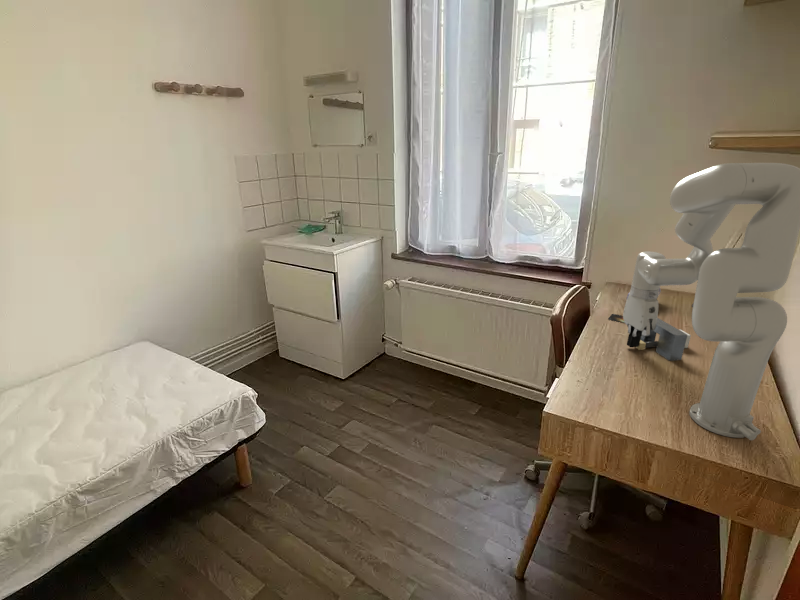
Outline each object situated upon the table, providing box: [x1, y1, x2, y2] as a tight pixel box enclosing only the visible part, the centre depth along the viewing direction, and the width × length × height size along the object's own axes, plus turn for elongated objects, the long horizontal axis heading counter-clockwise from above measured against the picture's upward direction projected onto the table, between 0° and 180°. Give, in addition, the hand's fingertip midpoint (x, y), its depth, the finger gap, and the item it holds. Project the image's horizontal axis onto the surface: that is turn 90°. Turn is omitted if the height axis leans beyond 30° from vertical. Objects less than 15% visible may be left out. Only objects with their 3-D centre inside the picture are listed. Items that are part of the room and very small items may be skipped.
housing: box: [638, 317, 687, 362], centre depth 140 cm, size 18×4×8 cm, turn 8°
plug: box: [635, 329, 692, 351], centre depth 141 cm, size 4×16×4 cm, turn 99°
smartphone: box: [607, 313, 625, 324], centre depth 161 cm, size 7×1×15 cm
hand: (632, 345), depth 140 cm, fingers closed
